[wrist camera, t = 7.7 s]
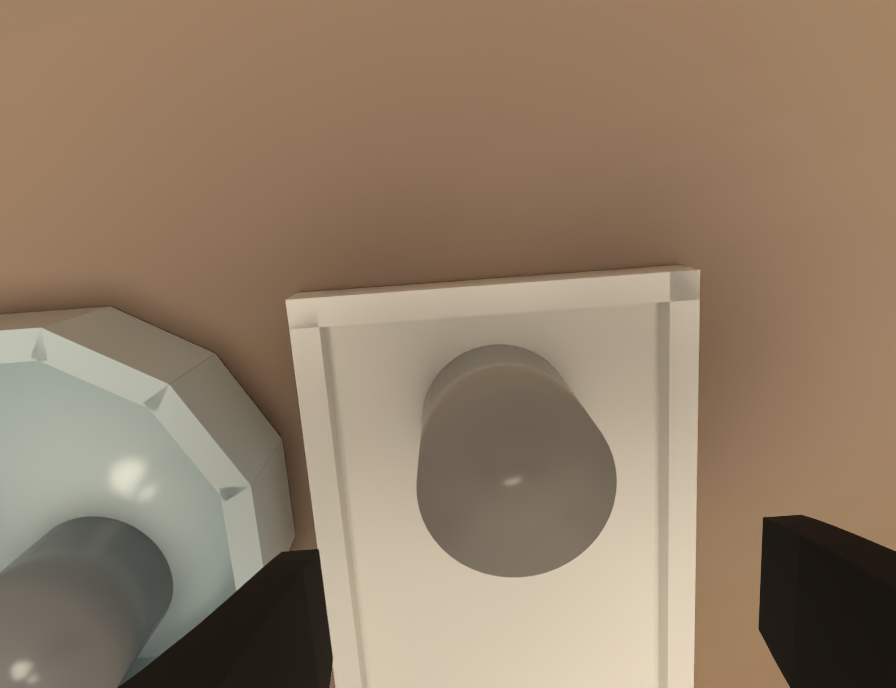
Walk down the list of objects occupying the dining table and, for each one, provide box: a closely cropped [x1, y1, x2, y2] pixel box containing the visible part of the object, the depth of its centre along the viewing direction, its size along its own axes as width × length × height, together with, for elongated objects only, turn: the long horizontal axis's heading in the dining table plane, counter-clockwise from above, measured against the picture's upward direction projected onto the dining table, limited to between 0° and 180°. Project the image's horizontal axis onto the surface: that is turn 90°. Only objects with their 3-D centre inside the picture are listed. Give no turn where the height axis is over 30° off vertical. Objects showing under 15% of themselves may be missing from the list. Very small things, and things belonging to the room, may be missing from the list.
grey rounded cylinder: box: [416, 344, 617, 578], centre depth 16 cm, size 4×4×5 cm
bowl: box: [0, 306, 296, 688], centre depth 18 cm, size 12×12×3 cm
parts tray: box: [286, 265, 700, 688], centre depth 19 cm, size 15×11×1 cm
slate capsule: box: [0, 516, 173, 688], centre depth 17 cm, size 4×4×5 cm
